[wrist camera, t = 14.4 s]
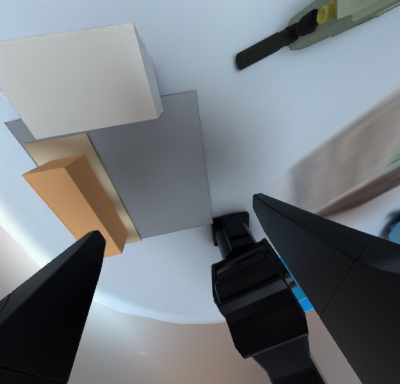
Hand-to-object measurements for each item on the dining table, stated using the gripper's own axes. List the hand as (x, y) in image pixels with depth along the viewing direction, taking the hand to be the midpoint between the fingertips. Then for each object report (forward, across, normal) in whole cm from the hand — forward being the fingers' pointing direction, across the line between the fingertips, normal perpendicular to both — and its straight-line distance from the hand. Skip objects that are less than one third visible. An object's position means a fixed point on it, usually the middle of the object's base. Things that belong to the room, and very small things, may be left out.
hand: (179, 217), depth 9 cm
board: (+12, +6, +3) cm, 14 cm away
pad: (+11, +11, +4) cm, 16 cm away
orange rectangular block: (+11, +11, +4) cm, 16 cm away
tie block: (+11, +4, -7) cm, 13 cm away
